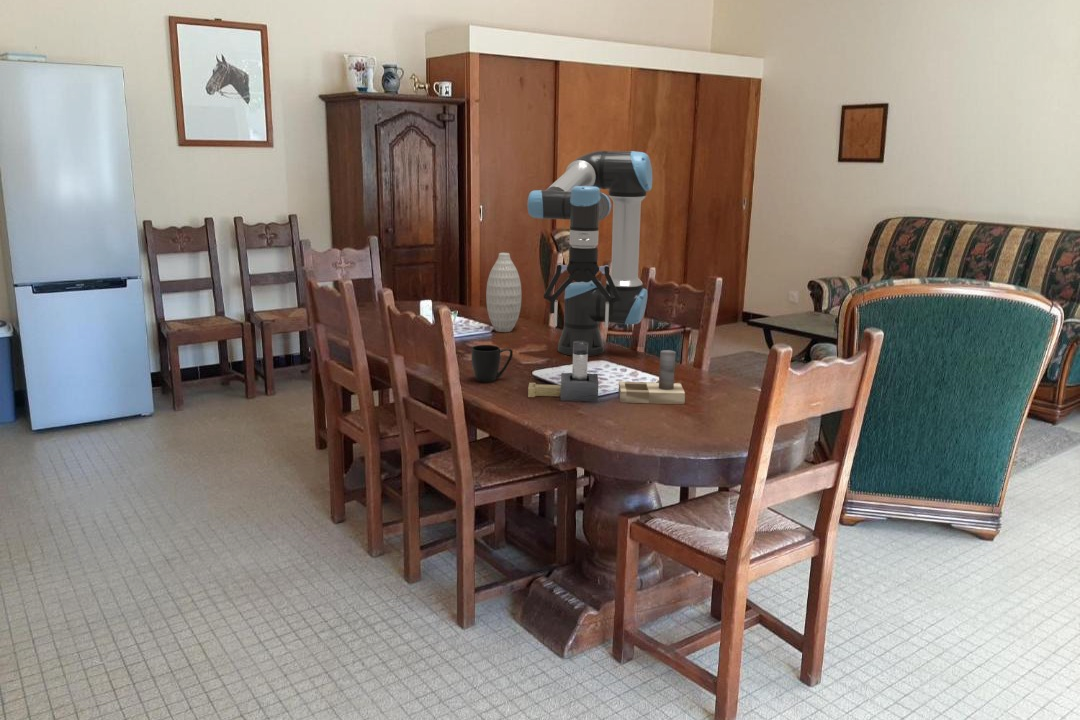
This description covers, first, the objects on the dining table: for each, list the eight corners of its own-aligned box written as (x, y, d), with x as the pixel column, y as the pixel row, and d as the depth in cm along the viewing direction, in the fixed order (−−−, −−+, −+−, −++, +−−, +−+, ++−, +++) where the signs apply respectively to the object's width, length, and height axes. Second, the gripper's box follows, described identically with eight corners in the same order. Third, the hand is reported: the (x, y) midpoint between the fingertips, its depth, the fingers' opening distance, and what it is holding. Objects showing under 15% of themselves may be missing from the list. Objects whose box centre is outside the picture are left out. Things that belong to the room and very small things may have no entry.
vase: (506, 325, 322) (507, 250, 315) (528, 331, 313) (529, 254, 306) (479, 329, 314) (479, 252, 307) (500, 335, 305) (500, 256, 298)
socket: (560, 390, 239) (561, 372, 238) (596, 391, 239) (597, 373, 237) (560, 400, 229) (560, 382, 228) (597, 401, 229) (598, 383, 228)
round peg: (571, 393, 236) (573, 340, 232) (586, 394, 236) (588, 340, 232) (571, 397, 232) (573, 343, 228) (586, 398, 232) (588, 344, 228)
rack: (618, 391, 238) (620, 346, 235) (679, 393, 238) (682, 348, 235) (620, 402, 229) (622, 355, 226) (684, 404, 228) (687, 356, 225)
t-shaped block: (529, 391, 237) (529, 382, 237) (568, 392, 237) (569, 383, 236) (528, 397, 231) (528, 388, 231) (568, 398, 231) (569, 389, 231)
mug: (515, 382, 246) (516, 350, 244) (474, 384, 243) (474, 352, 240) (508, 374, 254) (509, 343, 251) (469, 377, 250) (469, 345, 248)
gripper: (535, 246, 221) (533, 327, 226) (632, 249, 220) (628, 330, 225) (536, 243, 228) (534, 322, 233) (630, 246, 227) (626, 324, 232)
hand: (580, 326), depth 229 cm, fingers open, 13 cm apart
